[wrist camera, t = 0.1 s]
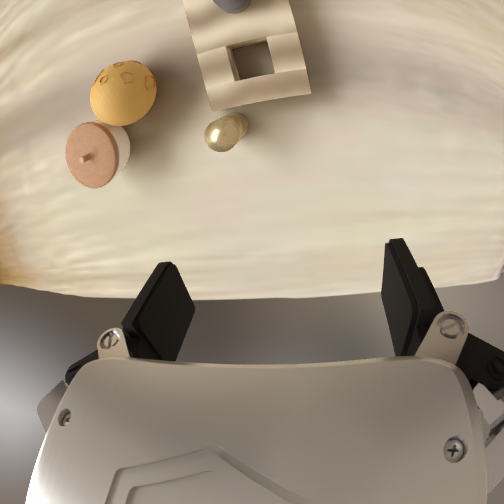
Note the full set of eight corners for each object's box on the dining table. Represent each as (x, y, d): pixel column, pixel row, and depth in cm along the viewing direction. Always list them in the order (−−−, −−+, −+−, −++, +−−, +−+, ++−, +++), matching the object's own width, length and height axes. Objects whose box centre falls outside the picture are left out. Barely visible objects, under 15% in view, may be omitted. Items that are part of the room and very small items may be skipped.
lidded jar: (135, 179, 44) (105, 202, 37) (89, 162, 43) (57, 181, 36) (147, 121, 38) (114, 134, 31) (97, 108, 37) (61, 119, 30)
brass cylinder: (218, 116, 37) (200, 124, 30) (244, 110, 36) (232, 116, 29) (224, 141, 39) (209, 154, 32) (250, 136, 38) (240, 148, 31)
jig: (189, -5, 25) (170, -17, 20) (278, -27, 22) (274, -45, 17) (219, 109, 36) (205, 115, 30) (309, 92, 33) (312, 94, 27)
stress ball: (153, 122, 39) (174, 101, 31) (96, 142, 34) (103, 123, 26) (138, 72, 35) (156, 42, 27) (82, 88, 31) (86, 58, 23)
